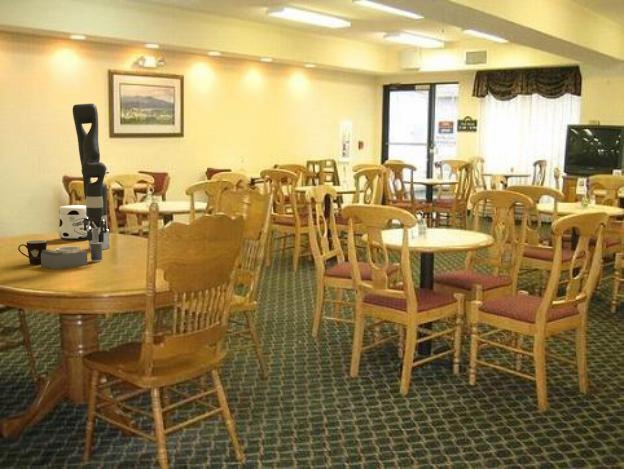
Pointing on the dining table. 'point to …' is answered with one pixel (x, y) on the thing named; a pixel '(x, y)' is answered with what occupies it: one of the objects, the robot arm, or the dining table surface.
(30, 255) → the coffee mug
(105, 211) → the robot arm
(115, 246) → the dining table surface
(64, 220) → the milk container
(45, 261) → the camera body
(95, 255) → the lens
